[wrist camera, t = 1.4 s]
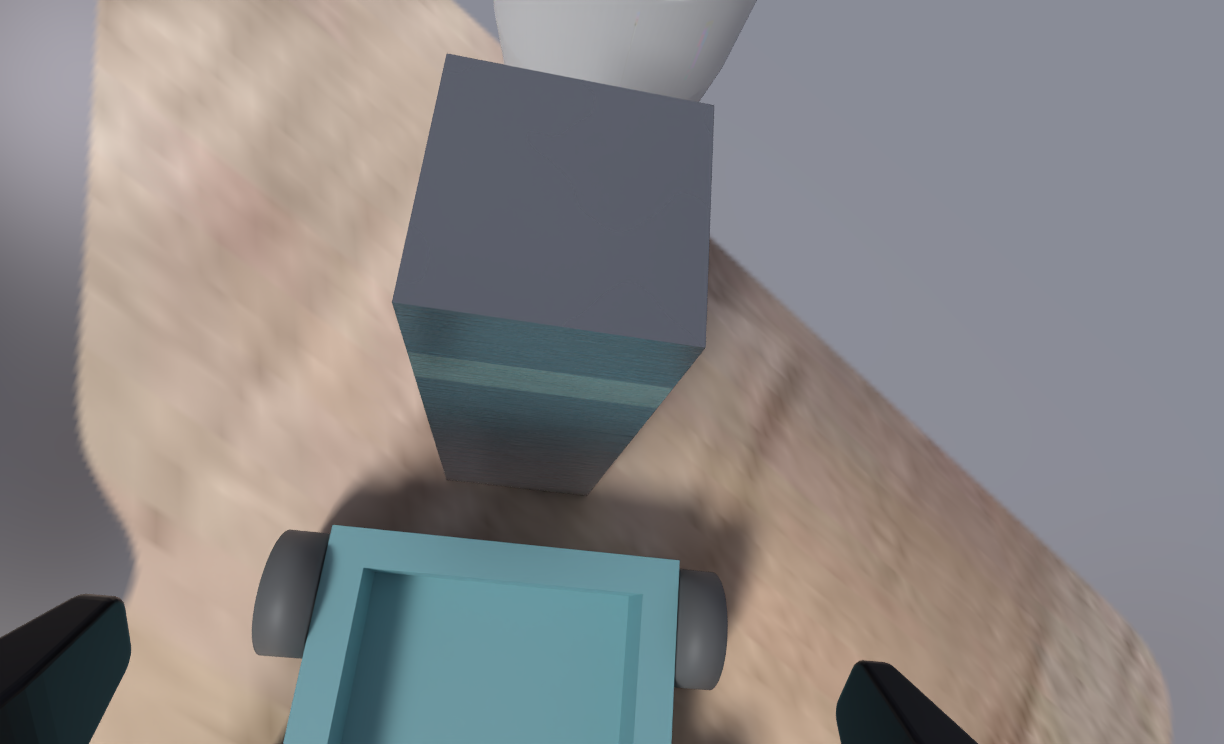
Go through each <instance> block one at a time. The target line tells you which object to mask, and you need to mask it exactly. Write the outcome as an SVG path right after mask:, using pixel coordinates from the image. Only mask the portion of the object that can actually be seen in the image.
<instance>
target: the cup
mask: <svg viewBox="0 0 1224 744" xmlns="http://www.w3.org/2000/svg"><path fill="white" fill-rule="evenodd" d="M756 1H757V0H494V11H495V17H496V22H497V27H498V32H499V38H500V43H501V48H502V54H503V59H504V64H505V65H509V66H514V67H519V68H524V69H529V70H534V71H540V72H545V73H550V74H555V75H560V76H565V77H570V78H576V79H581V80H586V81H591V82H596V83H601V84H607V85H612V86H617V87H622V88H627V89H632V90H638V91H643V92H648V93H653V94H658V95H663V96H668V97H674V98H679V99H684V100H689V101H694V102H699V101H700V99H701V98H702V97H703V95H704V94H705V92H706V90H707V89H708V88H709V86H710V85H711V83H712V82H713V80H714V79H715V78H716V76H717V75H718V73H719V72H720V70H721V69H722V67H723V65H724V63H725V61H726V59H727V57H728V55H729V53H730V51H731V49H732V47H733V46H734V43H735V42H736V40H737V38H738V36H739V33H740V32H741V30H742V28H743V26H744V24H745V22H746V20H747V18H748V16H749V14H750V12H751V10H752V8H753V6H754V5H755V3H756Z"/></svg>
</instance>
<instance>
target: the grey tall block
mask: <svg viewBox="0 0 1224 744" xmlns="http://www.w3.org/2000/svg"><path fill="white" fill-rule="evenodd" d="M713 125H714V105H710V104H704V103H699V102H694V101H689V100H684V99H679V98H674V97H668V96H663V95H658V94H653V93H648V92H643V91H638V90H632V89H627V88H622V87H617V86H612V85H607V84H601V83H596V82H591V81H586V80H581V79H576V78H570V77H565V76H560V75H555V74H550V73H545V72H540V71H534V70H529V69H524V68H519V67H514V66H509V65H503V64H498V63H493V62H488V61H483V60H478V59H473V58H467V57H462V56H457V55H452V54H447V55H446V59H445V64H444V68H443V73H442V77H441V82H440V86H439V91H438V96H437V100H436V105H435V109H434V114H433V118H432V123H431V127H430V132H429V136H428V141H427V146H426V150H425V155H424V159H423V164H422V168H421V173H420V177H419V182H418V186H417V191H416V195H415V200H414V205H413V209H412V214H411V218H410V223H409V227H408V232H407V236H406V241H405V245H404V250H403V254H402V259H401V264H400V268H399V273H398V277H397V282H396V286H395V291H394V295H393V300H392V304H393V307H394V310H395V314H396V317H397V320H398V323H399V327H400V330H401V333H402V336H403V340H404V343H405V346H406V349H407V353H408V356H409V359H410V362H411V366H412V369H413V372H414V376H415V379H416V382H417V385H418V389H419V392H420V395H421V398H422V402H423V405H424V408H425V411H426V415H427V418H428V421H429V424H430V428H431V431H432V434H433V437H434V441H435V444H436V447H437V450H438V454H439V457H440V460H441V463H442V467H443V470H444V473H445V477H446V480H452V481H461V482H470V483H479V484H488V485H496V486H505V487H514V488H523V489H532V490H541V491H549V492H558V493H567V494H576V495H585V496H587V495H588V494H589V492H590V491H591V490H592V489H593V487H594V486H595V485H596V484H597V482H598V481H599V480H600V479H601V477H602V476H603V475H604V474H605V472H606V471H607V470H608V469H609V467H610V466H611V465H612V464H613V462H614V461H615V460H616V459H617V458H618V456H619V455H620V454H621V453H622V451H623V450H624V449H625V448H626V446H627V445H628V444H629V443H630V441H631V440H632V439H633V438H634V436H635V435H636V434H637V433H638V431H639V430H640V429H641V428H642V426H643V425H644V424H645V423H646V421H647V420H648V419H649V418H650V416H651V415H652V414H653V413H654V411H655V410H656V409H657V408H658V406H659V405H660V404H661V403H662V401H663V400H664V399H665V398H666V396H667V395H668V394H669V393H670V391H671V390H672V389H673V388H674V386H675V385H676V384H677V383H678V381H679V380H680V379H681V378H682V376H683V375H684V374H685V373H686V371H687V370H688V369H689V368H690V366H691V365H692V364H693V363H694V361H695V360H696V359H697V358H698V357H699V355H700V354H701V353H702V352H703V350H704V349H705V348H706V320H707V292H708V264H709V236H710V207H711V180H712V153H713Z"/></svg>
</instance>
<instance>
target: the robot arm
mask: <svg viewBox="0 0 1224 744" xmlns="http://www.w3.org/2000/svg"><path fill="white" fill-rule="evenodd" d="M130 656H131V643H130V636H129V630H128V623H127V617H126V610H125V606H124V602H123V601H122V600H121V599H120V598H118V597H116V596H106V595H94V594H81V595H78V596H76V597H73V598H71V599H69V600H68V601H66V602H64V603H62V604H60V605H58V606H56V607H55V608H53V609H51V610H49V611H47V612H46V613H44V614H42V615H40V616H38V617H36V618H35V619H33V620H31V621H29V622H27V623H26V624H24V625H22V626H20V627H18V628H17V629H15V630H13V631H11V632H9V633H8V634H6V635H4V636H2V637H1V638H0V744H89V742H90V740H91V738H92V737H93V735H94V733H95V731H96V729H97V727H98V725H99V723H100V721H101V719H102V717H103V715H104V713H105V711H106V709H107V707H108V705H109V703H110V701H111V699H112V697H113V695H114V693H115V691H116V689H117V687H118V685H119V683H120V681H121V679H122V677H123V675H124V673H125V671H126V669H127V666H128V663H129V660H130ZM836 720H837V726H838V731H839V735H840V740H841V744H978V743H977V742H976V741H975V740H974V739H972V738H971V737H970V736H969V735H968V734H967V733H966V732H965V731H964V730H963V729H961V728H960V727H959V726H958V725H957V724H956V723H955V722H954V721H953V720H952V719H951V718H949V717H948V716H947V715H946V714H945V713H944V712H943V711H942V710H941V709H940V708H938V707H937V706H936V705H935V704H934V703H933V702H932V701H931V700H930V699H929V698H927V697H926V696H925V695H924V694H923V693H922V692H921V691H920V690H919V689H918V688H916V687H915V686H914V685H913V684H912V683H911V682H910V681H909V680H908V679H907V678H906V677H904V676H903V675H902V674H901V673H900V672H899V671H898V670H897V669H896V668H894V667H893V666H892V665H890V664H888V663H885V662H876V661H864V660H862V661H859V662H857V663H856V664H855V665H854V667H853V668H852V671H851V673H850V675H849V677H848V680H847V682H846V684H845V686H844V688H843V691H842V693H841V695H840V697H839V700H838V702H837V707H836Z"/></svg>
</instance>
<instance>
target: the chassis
mask: <svg viewBox="0 0 1224 744" xmlns="http://www.w3.org/2000/svg"><path fill="white" fill-rule="evenodd" d="M679 563H680V560H671V559H661V558H651V557H642V556H632V555H622V554H613V553H603V552H593V551H583V550H574V549H564V548H554V547H544V546H535V545H525V544H515V543H505V542H496V541H486V540H476V539H466V538H457V537H447V536H437V535H427V534H418V533H408V532H398V531H388V530H379V529H369V528H359V527H350V526H340V525H332V529H331V534H328V533H318V532H308V531H298V530H287V531H285V532H284V533H283V534H282V535H281V536H280V538H279V539H278V541H277V542H276V544H275V546H274V547H273V549H272V551H271V553H270V555H269V558H268V560H267V563H266V565H265V568H264V571H263V574H262V577H261V580H260V584H259V588H258V592H257V596H256V601H255V606H254V613H253V621H252V642H253V647H254V650H255V652H256V654H258V655H262V656H275V657H288V658H301V659H302V662H301V667H300V671H299V676H298V680H297V684H296V689H295V693H294V698H293V702H292V707H291V711H290V716H289V720H288V724H287V729H286V733H285V738H284V742H283V744H671V740H672V718H673V696H674V687H676V688H689V689H702V690H712V689H713V688H714V687H715V686H716V685H717V683H718V681H719V679H720V676H721V673H722V670H723V666H724V661H725V655H726V647H727V631H728V621H727V606H726V599H725V593H724V589H723V586H722V583H721V581H720V579H719V577H718V575H717V574H716V573H714V572H704V571H694V570H685V569H679Z"/></svg>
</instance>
